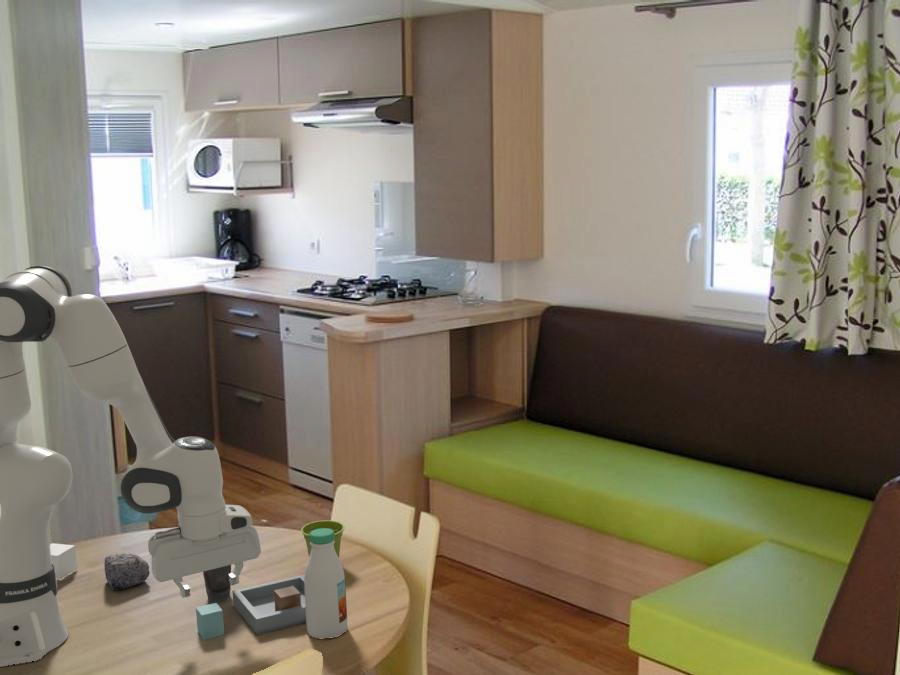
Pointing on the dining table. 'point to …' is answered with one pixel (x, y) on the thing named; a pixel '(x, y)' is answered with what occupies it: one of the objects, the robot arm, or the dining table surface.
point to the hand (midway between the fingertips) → (210, 589)
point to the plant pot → (328, 524)
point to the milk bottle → (324, 587)
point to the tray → (269, 605)
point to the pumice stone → (125, 570)
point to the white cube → (63, 559)
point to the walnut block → (286, 598)
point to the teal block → (210, 621)
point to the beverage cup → (218, 583)
